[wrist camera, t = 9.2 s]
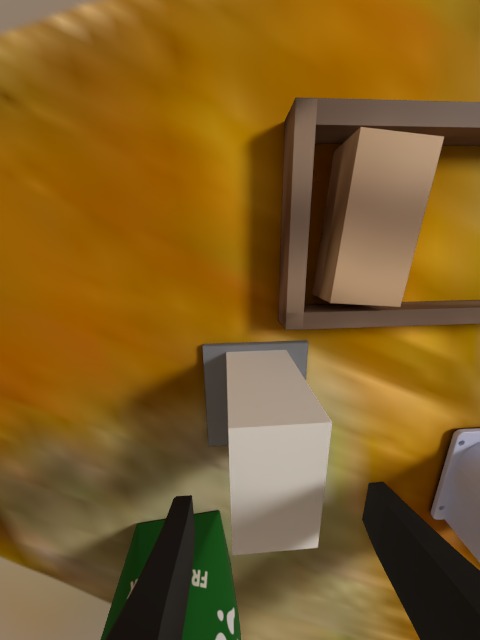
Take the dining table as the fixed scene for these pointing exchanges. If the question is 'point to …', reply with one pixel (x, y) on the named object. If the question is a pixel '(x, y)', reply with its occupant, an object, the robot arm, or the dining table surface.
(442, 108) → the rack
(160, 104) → the dining table surface
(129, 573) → the milk carton
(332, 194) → the tan rectangular block
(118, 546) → the dining table surface
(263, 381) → the cream rectangular prism
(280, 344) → the mat
